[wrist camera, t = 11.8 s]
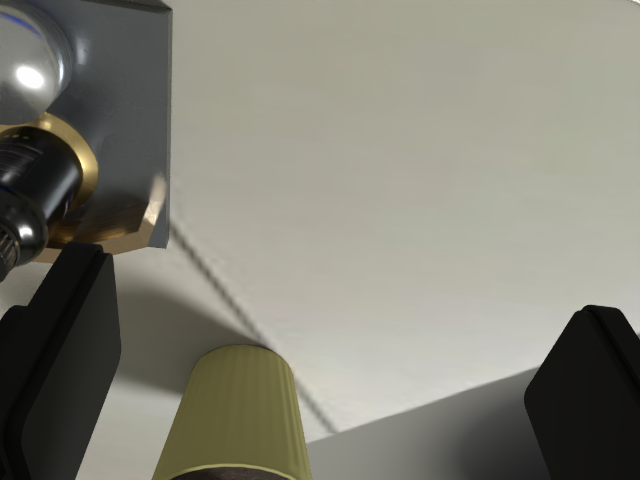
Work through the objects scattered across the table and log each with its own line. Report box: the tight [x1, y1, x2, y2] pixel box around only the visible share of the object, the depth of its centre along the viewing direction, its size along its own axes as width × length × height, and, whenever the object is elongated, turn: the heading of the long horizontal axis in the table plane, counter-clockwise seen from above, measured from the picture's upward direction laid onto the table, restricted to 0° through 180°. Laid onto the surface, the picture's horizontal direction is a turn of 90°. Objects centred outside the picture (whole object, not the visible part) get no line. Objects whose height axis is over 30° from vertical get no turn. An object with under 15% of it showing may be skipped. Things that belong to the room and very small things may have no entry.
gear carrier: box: [0, 0, 173, 264], centre depth 38 cm, size 20×20×6 cm
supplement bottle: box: [0, 126, 83, 282], centre depth 36 cm, size 7×7×12 cm
